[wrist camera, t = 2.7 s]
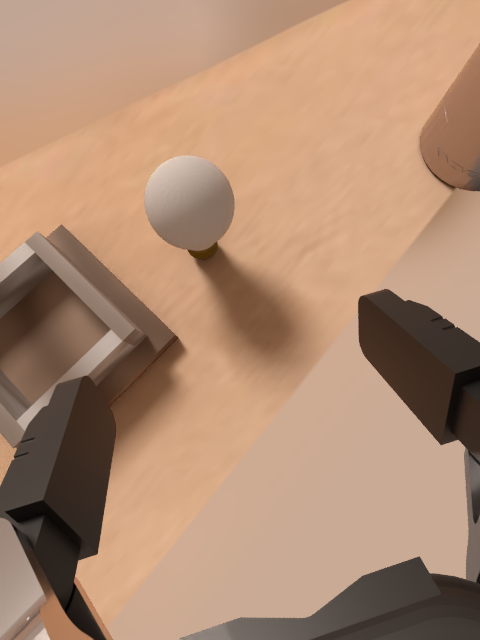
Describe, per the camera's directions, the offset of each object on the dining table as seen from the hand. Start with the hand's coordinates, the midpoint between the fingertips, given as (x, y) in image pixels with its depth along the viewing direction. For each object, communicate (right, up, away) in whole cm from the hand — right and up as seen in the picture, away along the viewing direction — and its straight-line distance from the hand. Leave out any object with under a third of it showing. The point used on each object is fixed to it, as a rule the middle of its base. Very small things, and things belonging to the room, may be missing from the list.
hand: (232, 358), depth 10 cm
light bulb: (-3, +7, +19) cm, 21 cm away
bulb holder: (-15, -1, +18) cm, 23 cm away
